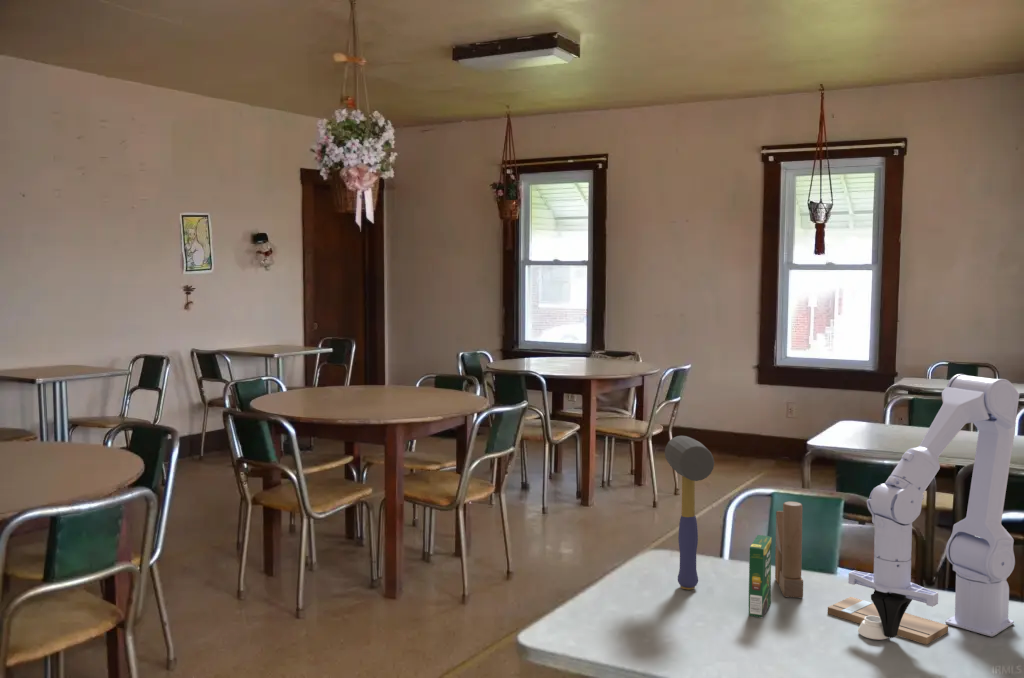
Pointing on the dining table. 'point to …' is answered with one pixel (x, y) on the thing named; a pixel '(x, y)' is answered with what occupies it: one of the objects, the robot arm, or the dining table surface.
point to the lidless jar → (872, 628)
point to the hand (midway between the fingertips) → (890, 635)
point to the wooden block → (789, 550)
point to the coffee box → (760, 576)
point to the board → (909, 624)
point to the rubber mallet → (688, 499)
